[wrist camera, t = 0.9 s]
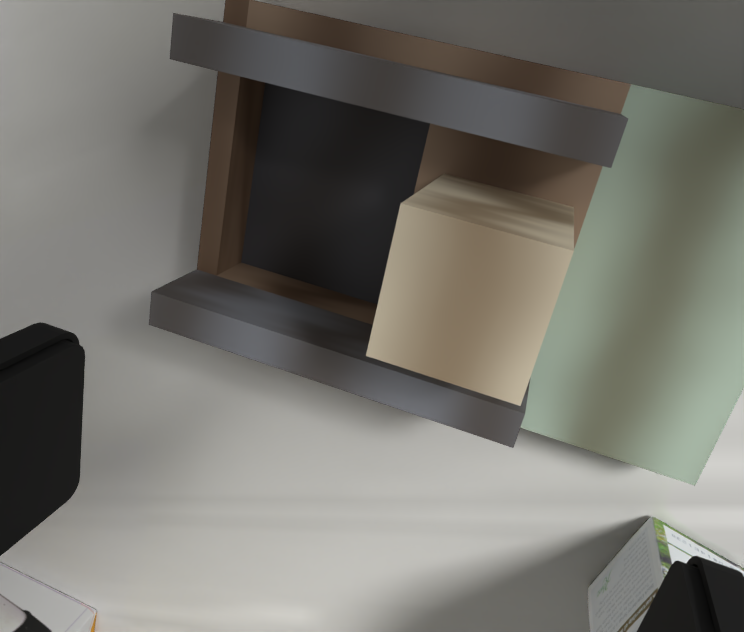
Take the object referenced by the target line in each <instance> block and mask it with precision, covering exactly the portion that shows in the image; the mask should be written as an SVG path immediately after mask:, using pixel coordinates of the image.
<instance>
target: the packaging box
mask: <svg viewBox="0 0 744 632" xmlns="http://www.w3.org/2000/svg"><path fill="white" fill-rule="evenodd" d="M96 613H97V611H96V610H95V609H93V608H91V607H90V606H88V605H86V604H84V603H82V602H79V601H77V600H75V599H73V598H71V597H69V596H67V595H65V594H63V593H61V592H59V591H57V590H55V589H53V588H51V587H49V586H47V585H45V584H43V583H41V582H39V581H37V580H35V579H33V578H31V577H29V576H27V575H25V574H23V573H21V572H19V571H17V570H15V569H13V568H11V567H9V566H7V565H5V564H3V563H1V562H0V632H94V628H95V620H96Z"/></svg>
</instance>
